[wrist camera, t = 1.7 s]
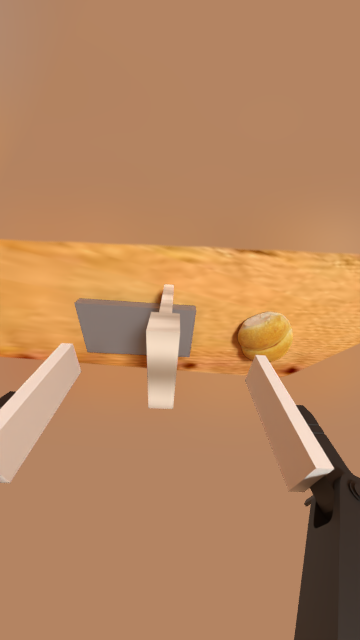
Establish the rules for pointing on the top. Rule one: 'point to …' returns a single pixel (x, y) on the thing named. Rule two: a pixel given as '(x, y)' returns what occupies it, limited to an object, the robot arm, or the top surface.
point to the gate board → (127, 325)
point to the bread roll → (266, 336)
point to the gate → (162, 352)
